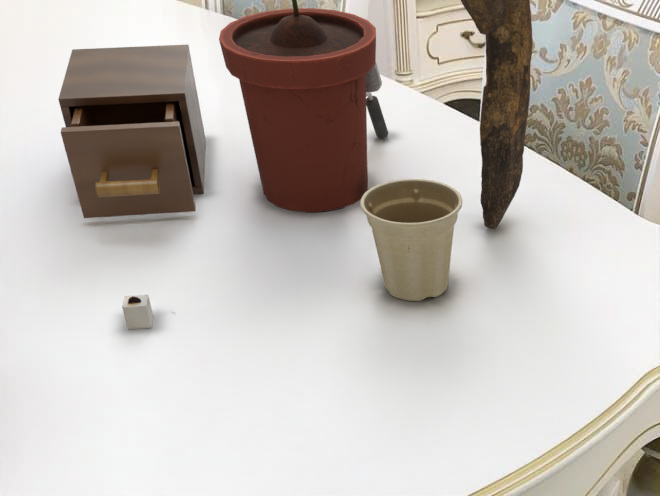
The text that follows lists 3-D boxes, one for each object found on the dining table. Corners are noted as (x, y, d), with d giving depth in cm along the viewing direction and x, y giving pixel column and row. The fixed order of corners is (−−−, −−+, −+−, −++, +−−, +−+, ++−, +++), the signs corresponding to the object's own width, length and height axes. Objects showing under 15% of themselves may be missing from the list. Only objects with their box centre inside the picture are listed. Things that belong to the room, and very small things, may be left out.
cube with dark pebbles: (127, 329, 102) (121, 304, 100) (130, 317, 103) (123, 293, 102) (151, 328, 102) (145, 303, 100) (153, 316, 104) (147, 291, 102)
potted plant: (216, 173, 126) (170, -84, 108) (384, 133, 134) (368, -111, 116) (281, 235, 115) (243, -37, 97) (460, 188, 124) (455, -70, 106)
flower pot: (367, 312, 105) (359, 224, 99) (367, 264, 111) (360, 179, 105) (466, 309, 105) (464, 222, 99) (461, 262, 112) (459, 177, 106)
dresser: (203, 193, 122) (184, 92, 114) (85, 201, 120) (58, 99, 112) (205, 140, 132) (188, 44, 124) (96, 146, 130) (72, 49, 122)
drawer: (194, 229, 114) (177, 142, 108) (80, 237, 112) (55, 149, 106) (198, 158, 126) (182, 76, 120) (94, 164, 124) (73, 81, 118)
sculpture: (441, 234, 116) (430, -103, 94) (479, 208, 120) (476, -120, 99) (498, 251, 114) (500, -90, 92) (534, 223, 118) (544, -109, 96)
